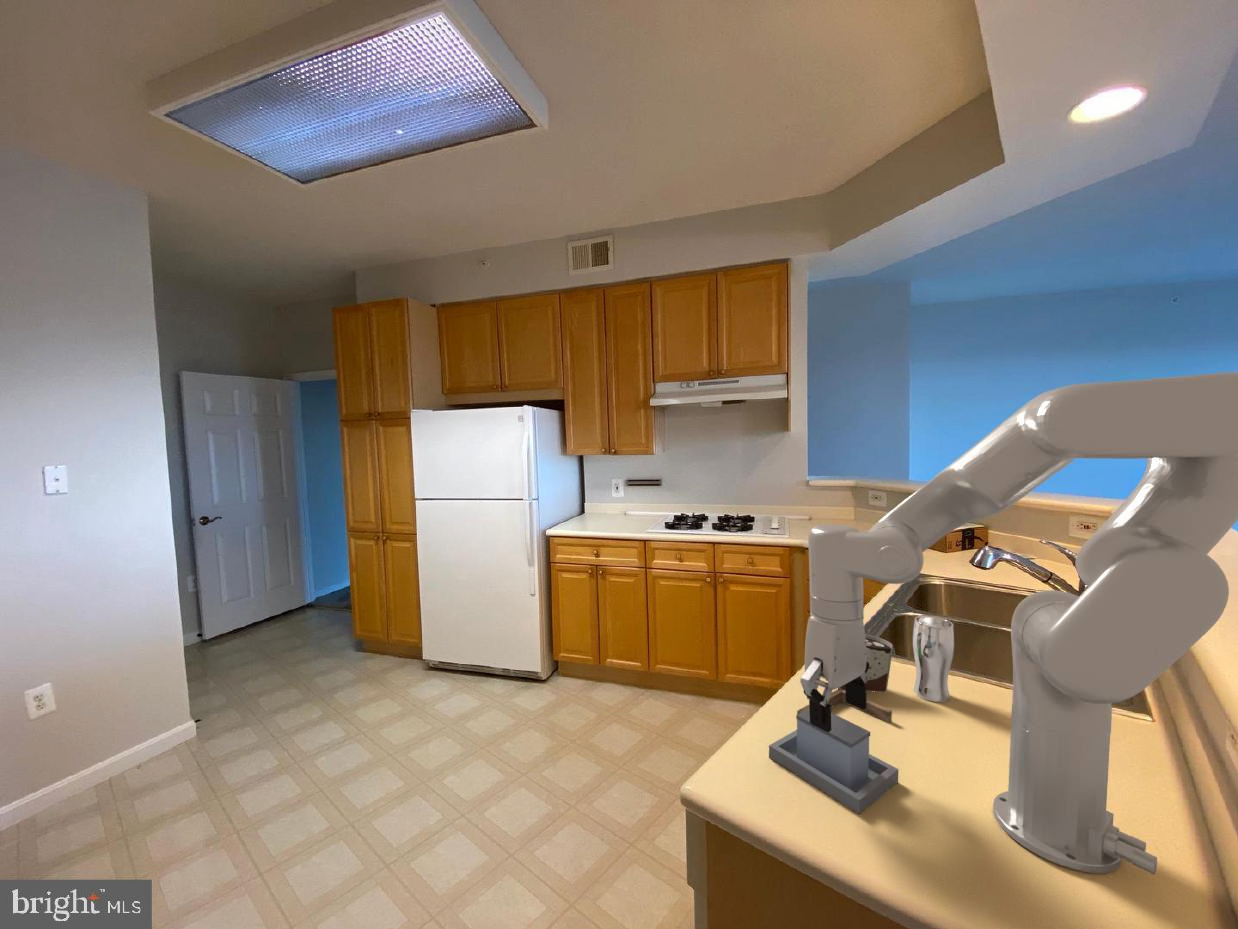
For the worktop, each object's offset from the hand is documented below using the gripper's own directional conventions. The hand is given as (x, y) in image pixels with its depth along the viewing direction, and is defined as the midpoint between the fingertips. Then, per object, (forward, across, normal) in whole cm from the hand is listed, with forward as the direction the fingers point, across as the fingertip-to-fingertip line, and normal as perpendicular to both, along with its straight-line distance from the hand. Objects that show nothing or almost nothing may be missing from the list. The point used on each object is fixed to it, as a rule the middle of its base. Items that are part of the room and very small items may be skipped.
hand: (838, 716), depth 77 cm
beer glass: (+10, -36, -2) cm, 38 cm away
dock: (+9, -13, -7) cm, 18 cm away
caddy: (+8, 0, -1) cm, 8 cm away
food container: (+9, -28, -13) cm, 33 cm away
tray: (+9, +1, -1) cm, 9 cm away
